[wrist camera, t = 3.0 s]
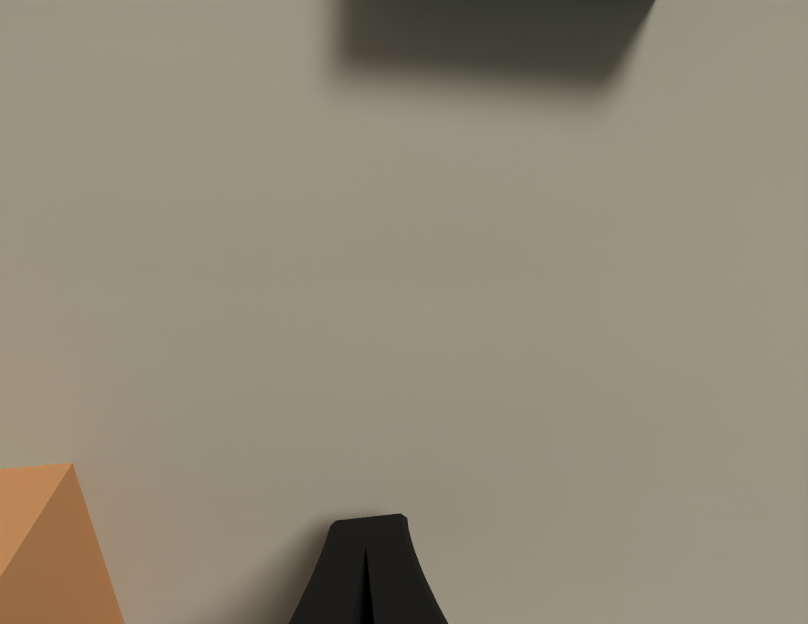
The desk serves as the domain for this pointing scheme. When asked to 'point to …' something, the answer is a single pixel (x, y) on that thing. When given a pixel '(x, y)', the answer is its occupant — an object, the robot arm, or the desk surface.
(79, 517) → the doorstop wedge
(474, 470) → the desk surface
